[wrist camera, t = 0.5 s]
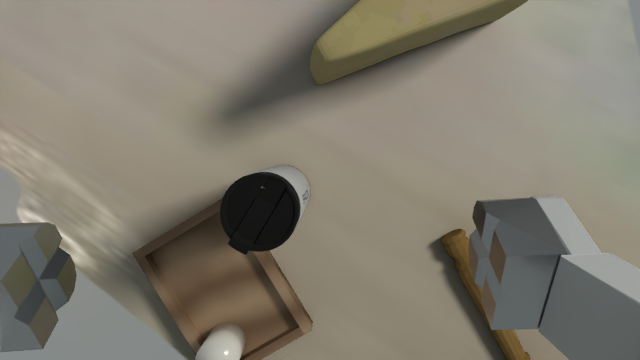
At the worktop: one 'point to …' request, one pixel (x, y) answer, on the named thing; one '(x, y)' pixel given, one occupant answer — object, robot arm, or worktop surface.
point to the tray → (222, 286)
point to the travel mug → (264, 208)
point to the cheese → (395, 31)
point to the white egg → (223, 343)
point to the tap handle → (480, 292)
